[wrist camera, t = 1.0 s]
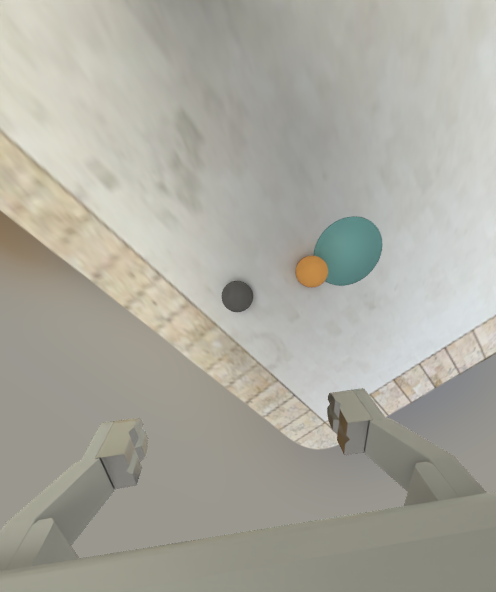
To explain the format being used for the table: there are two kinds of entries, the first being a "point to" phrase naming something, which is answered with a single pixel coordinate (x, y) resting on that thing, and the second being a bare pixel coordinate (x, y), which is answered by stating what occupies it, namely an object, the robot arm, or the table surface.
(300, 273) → the orange ball
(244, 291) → the black ball
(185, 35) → the table surface
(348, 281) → the teal flat disc
